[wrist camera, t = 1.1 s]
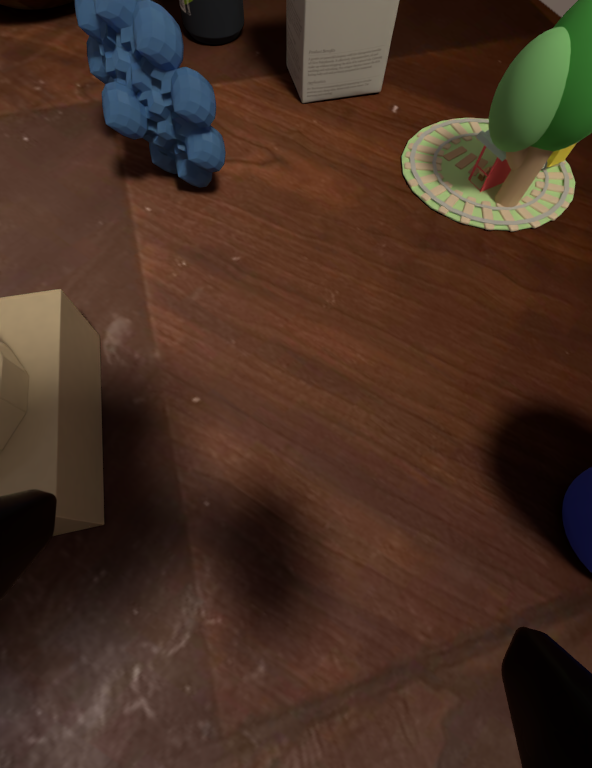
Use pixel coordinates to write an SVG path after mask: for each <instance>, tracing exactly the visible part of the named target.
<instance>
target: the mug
mask: <svg viewBox="0 0 592 768" xmlns="http://www.w3.org/2000/svg"><path fill="white" fill-rule="evenodd" d="M562 519H563V525H564V529H565V533H566V536H567V538H568V540H569V543H570V545H571V547H572V549H573V550H574V552H575V553H576V555H577V557H578V558H579V559H580V561H581V562H582V563H583V564H584V565H585V566H586V568H587V569H588V570H589V571H590V572H591V573H592V467H590V468H588V469H587V470H585V471H584V472H582V473H581V474H580V475H579V476H577V477H576V478H575V479H574V480H573V482H572V483H571V485H570V486H569V488H568V489H567V491H566V494H565V496H564V500H563V506H562Z"/></svg>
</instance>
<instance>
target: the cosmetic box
mask: <svg viewBox="0 0 592 768" xmlns="http://www.w3.org/2000/svg"><path fill="white" fill-rule="evenodd" d="M398 5H399V0H287V55H286V65H287V68H288V70H289V72H290V75H291V77H292V80H293V82H294V84H295V87H296V89H297V92H298V94H299V97H300V99H301V102H302V103H308V102H314V101H321V100H328V99H335V98H342V97H349V96H356V95H362V94H370V93H377V92H380V91H381V88H382V83H383V79H384V73H385V68H386V63H387V59H388V54H389V48H390V43H391V38H392V33H393V29H394V24H395V19H396V14H397V9H398Z"/></svg>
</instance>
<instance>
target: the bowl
mask: <svg viewBox="0 0 592 768" xmlns="http://www.w3.org/2000/svg"><path fill="white" fill-rule="evenodd" d="M73 1H74V0H0V4H1V5H4V6H7V7H11V8H16V9H25V10H38V9H48V8H54V7H58V6H62V5H65V4H68V3H70V2H73Z"/></svg>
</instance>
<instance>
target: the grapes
mask: <svg viewBox="0 0 592 768" xmlns="http://www.w3.org/2000/svg"><path fill="white" fill-rule="evenodd" d="M74 1H75V11H76V16H77V21H78V26H79V27H80V28H81V29H82V30H83V31H84V32H86V33H87V34H88V35H89V38H88V41H87V57H88V62H89V67H90V72H91V73H92V74H93V75H94V76H95V77H96V78H98V79H99V80H100V81H102V82H103V83H105V84H106V85H105V87H104V89H103V91H102V107H103V112H104V117H105V122H106V124H107V125H108V126H109V127H111V128H112V129H114V130H115V131H117V132H118V133H120V134H122V135H123V136H126V137H129V138H131V139H139V138H143V139H145V140H146V141H148V142H149V148H150V154H151V159H152V163H153V164H155V165H156V166H158V167H160V168H161V169H163V170H164V171H167V172H169V173H172V174H177V173H178V177H180V178H181V179H182V180H184V181H186V182H187V183H189V184H190V185H193V186H196V187H199V188H200V187H206V186H208V184H209V183H210V181H211V180H212V172H216V171H219V170H220V169H221V168H222V166H223V165H224V162H225V146H224V141H223V138H222V135H221V134H220V133H219V132H218V131H217V130H216V129H214V128H213V127H212V126H211V123H212V122H213V120H214V119H215V113H216V101H215V95H214V91H213V88H212V86H211V85H210V83H209V82H208V81H207V80H206V79H205V78H204V77H203V76H202V75H200V74H199V73H198V72H197V71H194V70H192V69H190V68H188V67H183V68H180V67H179V66H180V65H181V63H182V61H183V48H184V45H183V40H182V34H181V30H180V27H179V25H178V24H177V22H176V21H175V20H174V18H173V17H172V16H171V15H170V14H169V13H168V12H167V11H166V10H165V9H164V8H163V7H162V6H161V5H159V4H157V3H155V2H153V1H151V0H74Z"/></svg>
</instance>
